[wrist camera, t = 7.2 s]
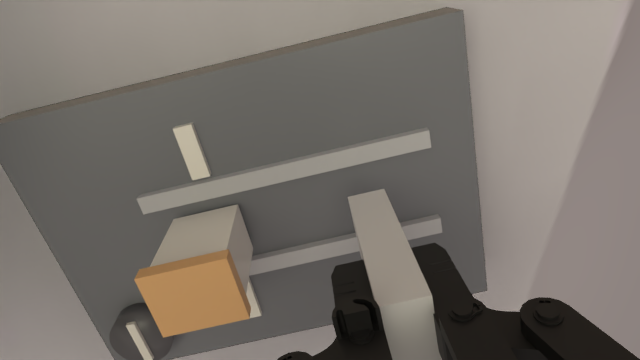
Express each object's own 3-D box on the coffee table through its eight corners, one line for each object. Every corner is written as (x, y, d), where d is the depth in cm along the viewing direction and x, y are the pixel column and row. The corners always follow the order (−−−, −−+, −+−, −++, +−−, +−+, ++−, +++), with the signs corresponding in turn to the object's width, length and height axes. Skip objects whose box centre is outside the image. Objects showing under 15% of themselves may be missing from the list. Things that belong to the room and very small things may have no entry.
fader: (189, 266, 21) (163, 337, 17) (167, 216, 20) (133, 279, 16) (258, 250, 21) (249, 318, 17) (240, 199, 20) (226, 258, 15)
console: (132, 342, 26) (112, 389, 23) (9, 115, 20) (-41, 138, 17) (472, 267, 25) (496, 306, 22) (447, 7, 19) (474, 11, 16)
